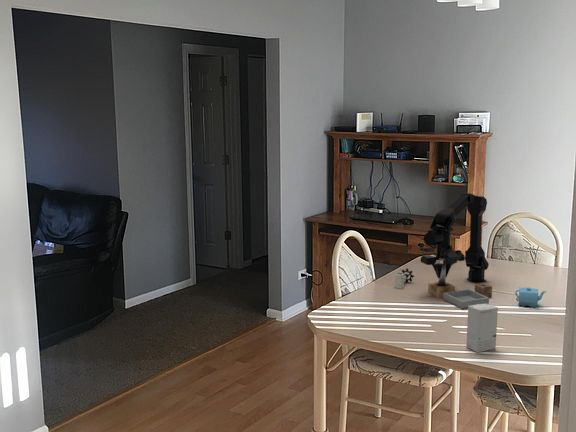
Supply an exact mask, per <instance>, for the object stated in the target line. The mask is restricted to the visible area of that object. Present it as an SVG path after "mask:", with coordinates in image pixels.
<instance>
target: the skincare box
mask: <svg viewBox="0 0 576 432" xmlns="http://www.w3.org/2000/svg"><path fill="white" fill-rule="evenodd" d="M498 312H499V308H498V307H497V306H496V305H492V304H490V303H489V304H487V303H486V304H476V305H471V306H468V308H467V323H466V324H467V325H466V326H467V327H466V343H465V346H466V347H467V348H468V349H470V350H471V351H473V352H475V353H481V352H486V351H490V350H491V351H492V350H495V349H496V346H497V330H498V329H497V328H498Z"/></svg>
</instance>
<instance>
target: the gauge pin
mask: <svg viewBox="0 0 576 432" xmlns="http://www.w3.org/2000/svg"><path fill="white" fill-rule="evenodd" d="M440 263H441V264H442V266H441V267H440V278H438V277H437V278H438V280H437V282H438V286H440V287H442V286H445V284H446V282H447V281H446V279H447V277H446V264H445V263H443V262H440Z"/></svg>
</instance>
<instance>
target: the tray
mask: <svg viewBox="0 0 576 432" xmlns="http://www.w3.org/2000/svg"><path fill="white" fill-rule="evenodd" d="M442 300H443V301H445V302H447V303H449V304H450V305H452V306H454V307H457V308H459V309H461V310H466V309H468V306H471V305H476V304H486V303H487V304H490V298H488V297H486V296H483V295H481V294H479V293H477V292H475V290H472V289H470V288H467V289H460V290H455V291H452V292H445V293H443V297H442Z"/></svg>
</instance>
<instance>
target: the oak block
mask: <svg viewBox="0 0 576 432" xmlns="http://www.w3.org/2000/svg"><path fill="white" fill-rule="evenodd" d="M427 285H428V287H427V288H428V290H427V292H428V294H431V295H433V296H434V297H436V298H443V293H445V292H452V291H456V286H455V285H453V284H451V283H450V282H447V281H446V284H445V286H442V287H440V286H438V281H436V282H431V283H430V282H429V283H428V284H427Z"/></svg>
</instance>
